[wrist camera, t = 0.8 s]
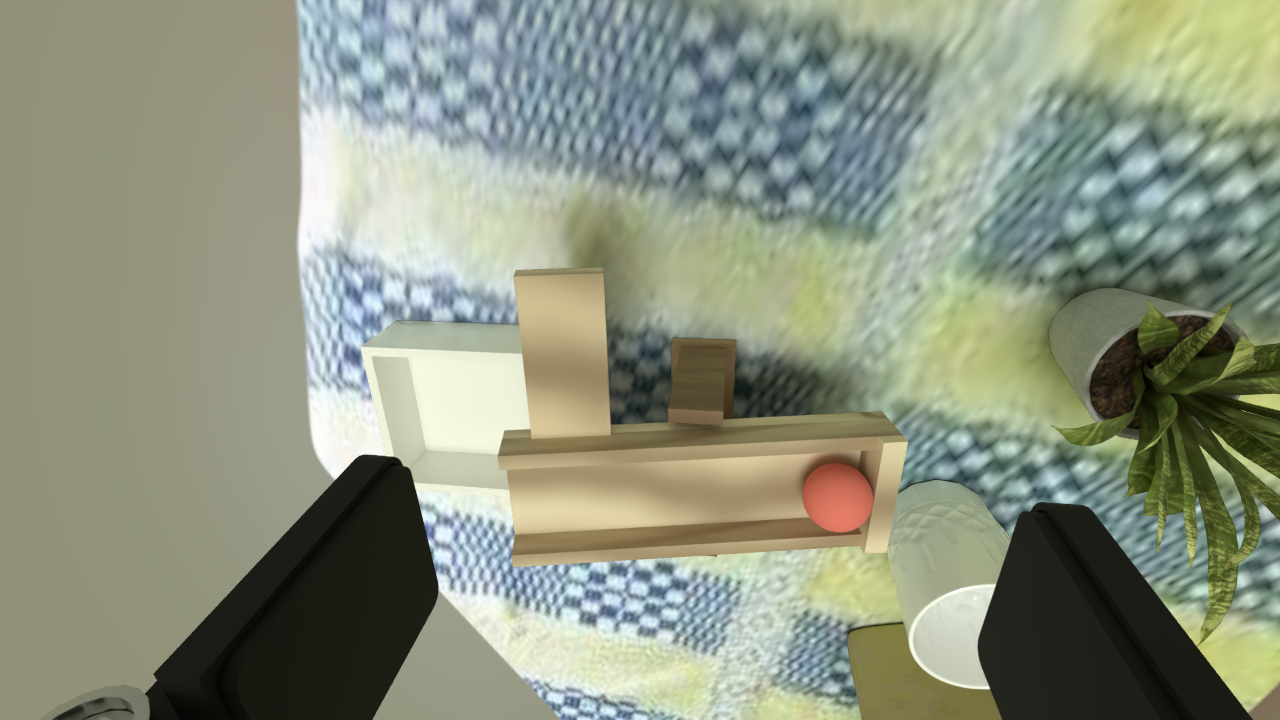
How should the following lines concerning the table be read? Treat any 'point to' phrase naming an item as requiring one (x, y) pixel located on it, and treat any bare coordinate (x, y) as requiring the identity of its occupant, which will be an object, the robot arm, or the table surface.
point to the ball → (837, 497)
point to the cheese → (907, 682)
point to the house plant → (1176, 413)
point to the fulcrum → (702, 381)
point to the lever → (663, 456)
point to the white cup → (945, 576)
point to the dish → (448, 400)
